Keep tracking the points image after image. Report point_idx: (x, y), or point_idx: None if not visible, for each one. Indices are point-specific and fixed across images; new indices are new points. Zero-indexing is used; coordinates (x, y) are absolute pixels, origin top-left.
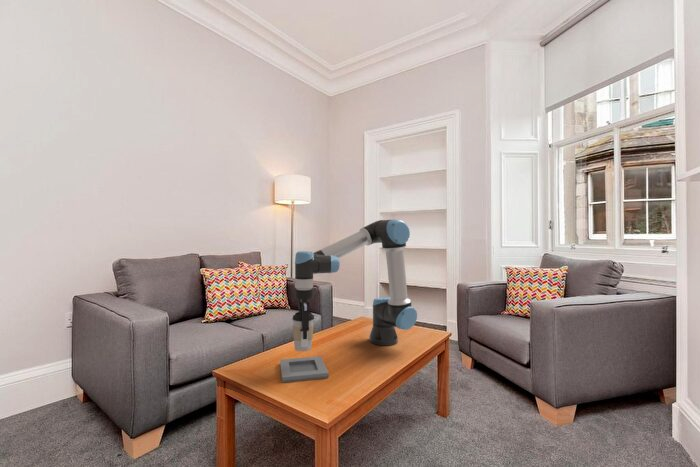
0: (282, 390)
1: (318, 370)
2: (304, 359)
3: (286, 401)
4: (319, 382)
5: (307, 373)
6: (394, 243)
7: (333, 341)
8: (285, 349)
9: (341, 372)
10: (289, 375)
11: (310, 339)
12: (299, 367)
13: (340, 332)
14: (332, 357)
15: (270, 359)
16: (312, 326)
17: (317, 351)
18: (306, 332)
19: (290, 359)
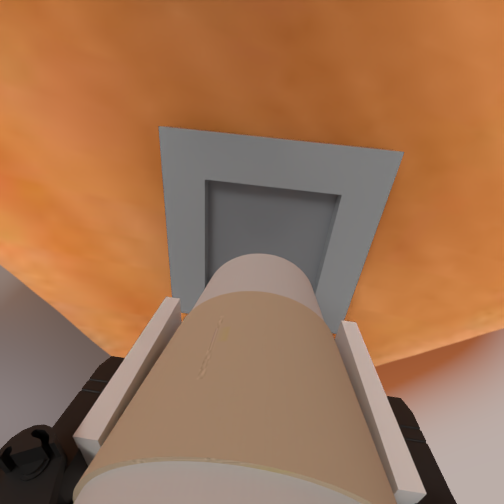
0: (390, 329)
1: (347, 195)
2: (190, 225)
3: (469, 333)
4: (411, 204)
5: (353, 250)
6: None
7: None
8: (24, 255)
9: (368, 44)
10: (335, 312)
11: (326, 327)
12: (247, 253)
13: None
14: (128, 29)
15: (130, 317)
16: (366, 483)
17: (32, 108)
18: (448, 494)
19: (178, 279)
